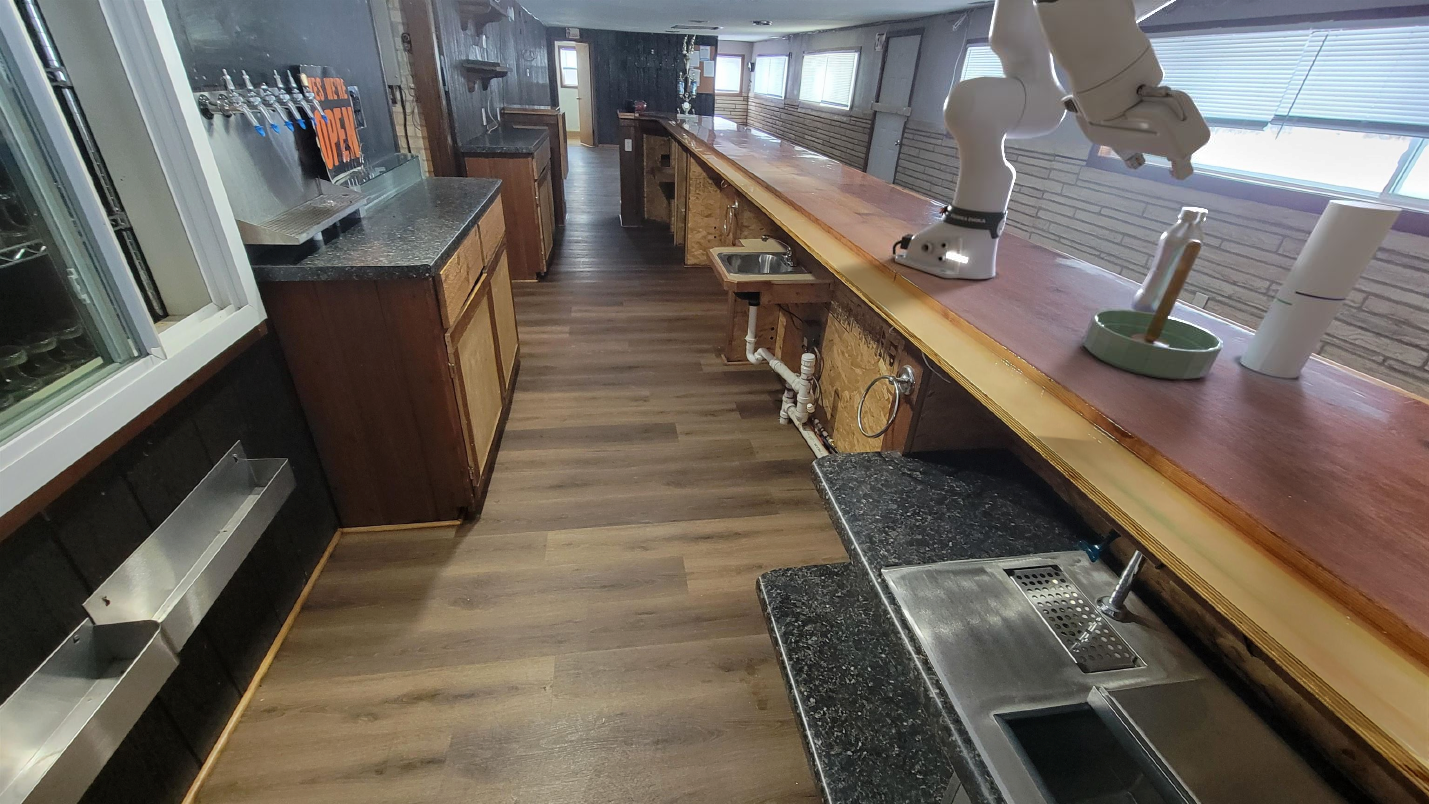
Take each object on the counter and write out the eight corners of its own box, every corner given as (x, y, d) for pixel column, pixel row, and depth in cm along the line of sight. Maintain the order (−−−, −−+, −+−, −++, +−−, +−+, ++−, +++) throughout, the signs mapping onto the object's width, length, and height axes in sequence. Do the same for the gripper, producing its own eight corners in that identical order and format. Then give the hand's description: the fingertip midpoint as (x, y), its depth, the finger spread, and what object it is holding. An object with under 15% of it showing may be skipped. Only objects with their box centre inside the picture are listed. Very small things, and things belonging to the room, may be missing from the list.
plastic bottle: (1154, 311, 111) (1201, 206, 102) (1174, 324, 106) (1227, 214, 96) (1120, 309, 112) (1164, 204, 102) (1139, 321, 106) (1188, 211, 96)
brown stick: (1121, 353, 91) (1171, 239, 82) (1129, 344, 94) (1178, 234, 85) (1159, 364, 88) (1215, 247, 79) (1166, 355, 91) (1221, 241, 82)
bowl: (1067, 354, 91) (1078, 325, 89) (1097, 328, 102) (1108, 302, 99) (1197, 393, 81) (1213, 362, 78) (1215, 360, 92) (1230, 331, 89)
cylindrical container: (1285, 381, 86) (1390, 211, 73) (1231, 362, 91) (1320, 201, 79) (1306, 373, 89) (1411, 208, 76) (1252, 355, 94) (1342, 199, 82)
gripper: (1203, 65, 62) (1244, 164, 67) (1096, 67, 80) (1135, 146, 85) (1146, 109, 64) (1190, 201, 69) (1054, 101, 82) (1094, 176, 87)
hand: (1159, 171), depth 77 cm, fingers open, 8 cm apart
